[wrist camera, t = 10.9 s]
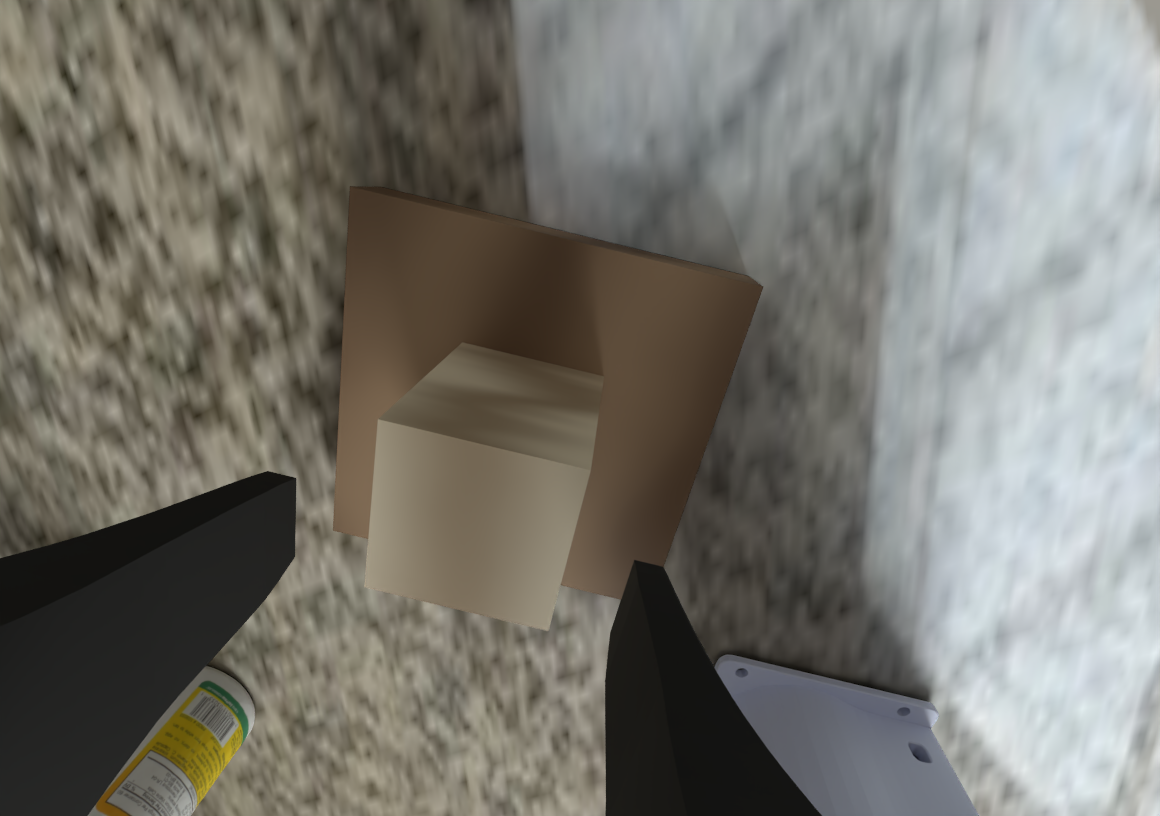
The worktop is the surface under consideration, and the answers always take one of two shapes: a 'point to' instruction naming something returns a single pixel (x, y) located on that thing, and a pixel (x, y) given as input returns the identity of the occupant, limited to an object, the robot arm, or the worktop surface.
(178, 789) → the supplement bottle
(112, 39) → the worktop surface
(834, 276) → the worktop surface
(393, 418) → the beech block
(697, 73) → the worktop surface
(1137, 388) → the worktop surface
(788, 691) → the robot arm
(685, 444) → the walnut plinth
